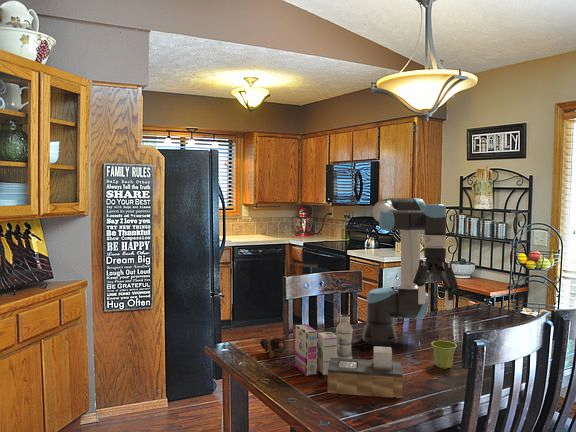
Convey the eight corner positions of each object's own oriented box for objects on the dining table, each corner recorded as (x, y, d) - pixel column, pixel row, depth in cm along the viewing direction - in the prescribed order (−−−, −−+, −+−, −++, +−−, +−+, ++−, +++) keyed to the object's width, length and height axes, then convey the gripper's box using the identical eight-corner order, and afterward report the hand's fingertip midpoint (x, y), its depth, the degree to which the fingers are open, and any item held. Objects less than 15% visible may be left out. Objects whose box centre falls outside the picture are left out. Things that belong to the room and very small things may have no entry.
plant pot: (455, 371, 189) (456, 349, 189) (429, 368, 193) (430, 346, 192) (456, 363, 198) (457, 342, 198) (431, 360, 201) (432, 339, 201)
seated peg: (339, 381, 178) (339, 361, 178) (356, 382, 177) (356, 362, 177) (338, 388, 172) (338, 367, 172) (355, 389, 171) (356, 368, 171)
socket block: (330, 379, 182) (330, 357, 181) (400, 383, 178) (400, 361, 177) (327, 392, 170) (327, 369, 169) (402, 398, 166) (402, 374, 165)
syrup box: (337, 373, 187) (337, 335, 186) (322, 375, 185) (322, 336, 184) (331, 368, 192) (332, 331, 191) (317, 370, 191) (317, 332, 190)
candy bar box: (318, 374, 186) (318, 331, 185) (306, 376, 184) (306, 332, 183) (306, 364, 196) (306, 323, 195) (294, 366, 194) (294, 324, 193)
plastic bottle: (342, 371, 189) (342, 319, 188) (332, 365, 195) (332, 314, 194) (356, 368, 192) (356, 317, 191) (346, 363, 198) (346, 313, 197)
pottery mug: (289, 352, 212) (291, 339, 207) (280, 368, 204) (282, 355, 200) (263, 342, 215) (264, 329, 210) (253, 358, 208) (255, 344, 203)
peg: (373, 367, 176) (373, 346, 175) (390, 368, 175) (391, 347, 174) (373, 373, 170) (373, 351, 169) (391, 374, 169) (391, 352, 168)
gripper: (404, 245, 190) (403, 302, 189) (452, 248, 168) (452, 312, 167) (419, 245, 193) (419, 301, 193) (469, 248, 171) (469, 311, 170)
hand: (434, 306), depth 180 cm, fingers open, 13 cm apart
